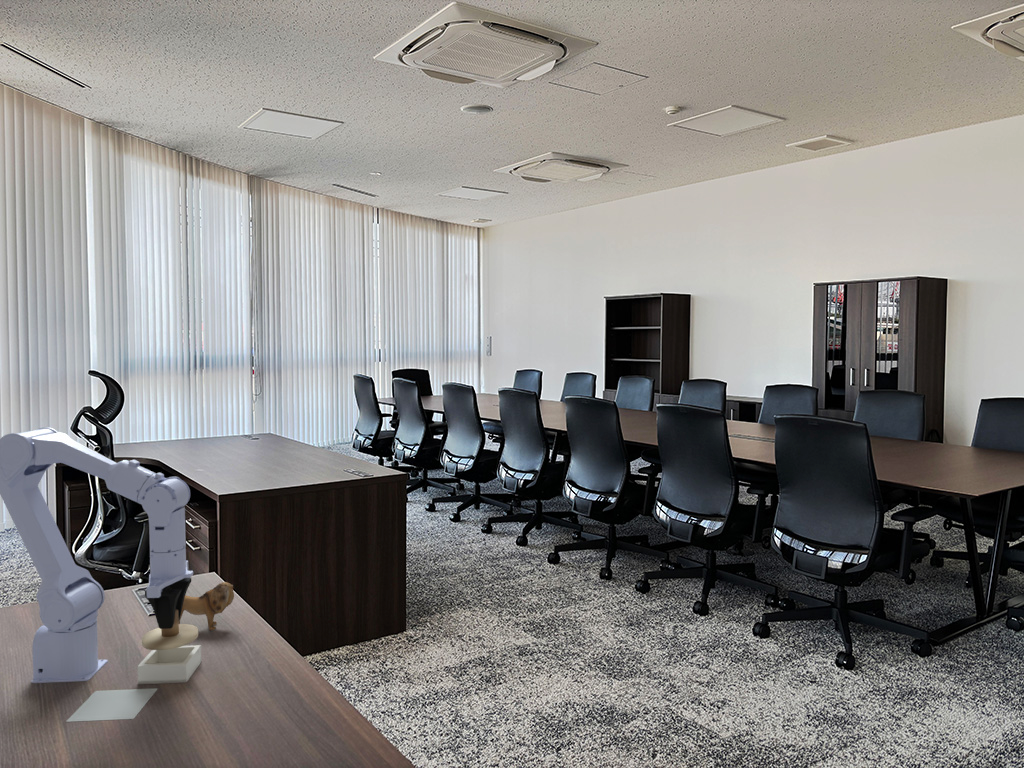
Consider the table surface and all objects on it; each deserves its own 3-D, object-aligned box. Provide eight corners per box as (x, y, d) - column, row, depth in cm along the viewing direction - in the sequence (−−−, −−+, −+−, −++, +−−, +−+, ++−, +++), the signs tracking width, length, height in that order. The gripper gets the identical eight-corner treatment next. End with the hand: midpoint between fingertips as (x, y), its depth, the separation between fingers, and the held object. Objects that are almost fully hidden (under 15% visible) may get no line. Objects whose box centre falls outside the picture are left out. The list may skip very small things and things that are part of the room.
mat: (65, 724, 113) (65, 721, 113) (95, 693, 123) (95, 690, 123) (133, 721, 114) (133, 718, 114) (157, 690, 124) (157, 688, 124)
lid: (134, 651, 125) (133, 623, 124) (151, 631, 133) (150, 604, 133) (190, 647, 126) (189, 619, 126) (203, 627, 135) (202, 601, 135)
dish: (137, 686, 126) (137, 666, 126) (155, 665, 134) (155, 646, 133) (186, 684, 127) (186, 664, 126) (201, 663, 134) (200, 645, 134)
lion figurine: (236, 619, 156) (235, 578, 155) (232, 629, 151) (232, 586, 150) (161, 625, 153) (160, 582, 152) (155, 635, 147) (154, 591, 147)
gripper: (177, 560, 122) (178, 640, 123) (204, 536, 136) (206, 608, 137) (132, 561, 121) (134, 641, 122) (165, 537, 136) (166, 609, 136)
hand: (169, 624), depth 130 cm, fingers closed on lid, 3 cm apart
